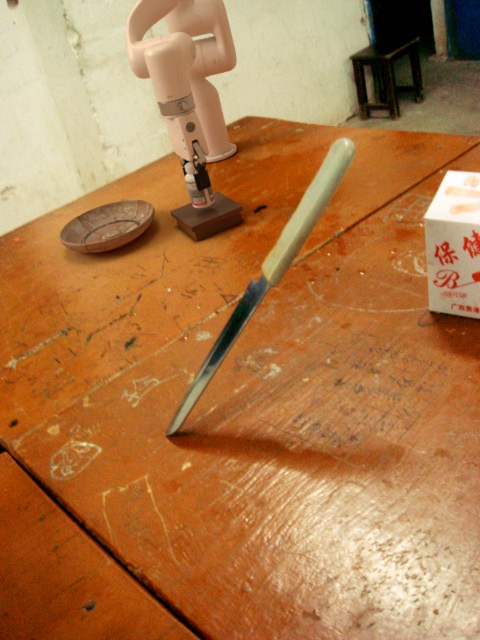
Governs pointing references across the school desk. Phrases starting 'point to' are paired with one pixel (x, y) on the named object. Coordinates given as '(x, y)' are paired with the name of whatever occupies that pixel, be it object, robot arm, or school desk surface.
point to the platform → (208, 217)
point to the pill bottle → (197, 197)
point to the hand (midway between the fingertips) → (198, 184)
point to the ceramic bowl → (107, 226)
